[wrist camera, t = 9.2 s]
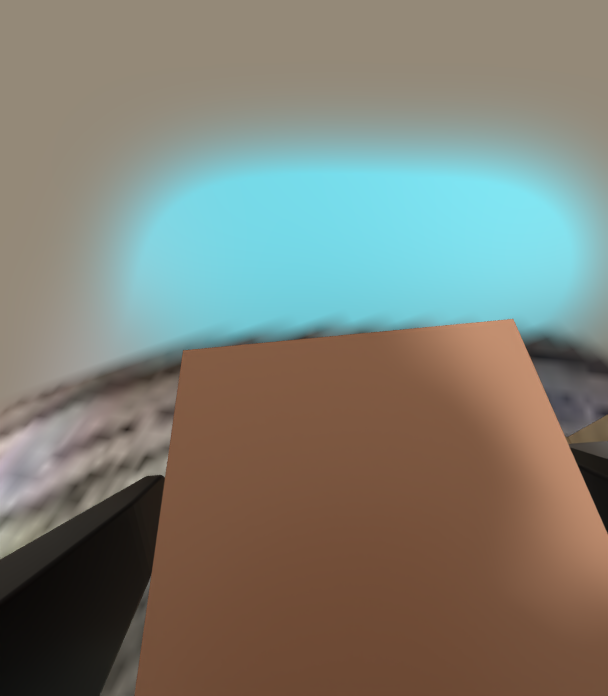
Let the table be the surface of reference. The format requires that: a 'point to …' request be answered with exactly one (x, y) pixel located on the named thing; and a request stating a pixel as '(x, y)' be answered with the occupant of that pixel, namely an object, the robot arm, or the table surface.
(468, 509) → the plug
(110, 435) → the table surface
